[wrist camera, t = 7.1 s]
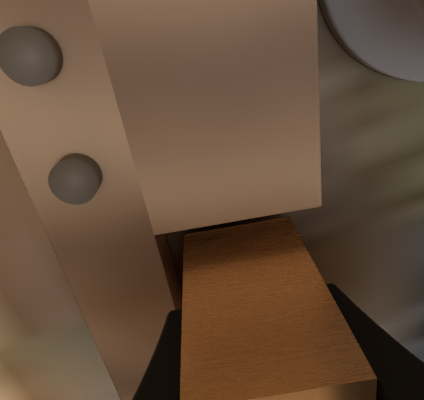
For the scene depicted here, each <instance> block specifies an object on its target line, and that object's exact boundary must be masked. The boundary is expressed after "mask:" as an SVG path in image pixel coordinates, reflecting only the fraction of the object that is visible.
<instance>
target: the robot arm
mask: <svg viewBox="0 0 424 400" xmlns="http://www.w3.org/2000/svg"><path fill="white" fill-rule="evenodd" d="M326 285H327V287H328V289H329V291H330V293H331V295H332V296H333V298H334V300H335V302H336V304H337V306H338V307H339V309H340V311H341V313H342V315H343V317H344V318H345V320H346V322H347V324H348V326H349V328H350V329H351V331H352V333H353V335H354V337H355V339H356V340H357V342H358V344H359V346H360V348H361V350H362V351H363V353H364V355H365V357H366V359H367V361H368V362H369V364H370V366H371V368H372V370H373V372H374V373H375V375H376V377H377V390H376V400H424V363H423V362H422V361H421V360H420V359H418V358H417V357H416V356H414V355H413V354H412V353H411V352H409V351H408V350H407V349H406V348H404V347H403V346H402V345H401V344H400V343H398V342H397V341H396V340H395V339H394V338H392V337H391V336H390V335H389V334H388V333H387V332H385V331H384V330H383V329H382V328H381V327H380V326H378V325H377V324H376V323H375V322H374V321H373V320H372V319H371V318H369V317H368V316H367V315H366V314H365V313H364V312H363V311H362V310H361V309H360V308H359V307H357V306H356V305H355V304H354V303H353V302H352V301H351V300H350V299H349V298H348V297H347V296H346V295H345V294H344V293H343V292H342V291H341V290H340V289H339V288H338V287H337V286H336V285H334V284H333V283H331V284H326ZM181 333H182V309H178V310H172V311H170V312H169V313H168V314H167V318H166V321H165V324H164V327H163V330H162V332H161V335H160V338H159V340H158V343H157V346H156V348H155V351H154V353H153V355H152V358H151V360H150V362H149V365H148V367H147V369H146V371H145V374H144V376H143V378H142V380H141V382H140V385H139V387H138V389H137V391H136V393H135V395H134V397H133V399H132V400H180V373H181Z"/></svg>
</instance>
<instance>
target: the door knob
mask: <svg viewBox="0 0 424 400" xmlns="http://www.w3.org/2000/svg"><path fill="white" fill-rule="evenodd" d="M318 2H319V5H320V8H321V11H322V14H323V17H324V19H325V21H326V23H327V25H328V27H329V29H330V31H331V32H332V34H333V35H334V37H335V38H336V40H337V41H338V42H339V44H340V45H341V46H342V47H343V48H344V49H345V50H346V51H347V52H348V53H349V55H351V56H352V57H353V58H354V59H356V60H357V61H358V62H360V63H361V64H362V65H364V66H366V67H368V68H370V69H372V70H374V71H376V72H379V73H382V74H385V75H388V76H392V77H396V78H400V79H405V80H410V81H416V82H424V0H318Z"/></svg>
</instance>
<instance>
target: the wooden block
mask: <svg viewBox="0 0 424 400" xmlns="http://www.w3.org/2000/svg"><path fill="white" fill-rule="evenodd" d="M376 390H377V377H376V375H375V373H374V372H373V370H372V368H371V366H370V364H369V362H368V361H367V359H366V357H365V355H364V353H363V351H362V350H361V348H360V346H359V344H358V342H357V340H356V339H355V337H354V335H353V333H352V331H351V329H350V328H349V326H348V324H347V322H346V320H345V318H344V317H343V315H342V313H341V311H340V309H339V307H338V306H337V304H336V302H335V300H334V298H333V296H332V295H331V293H330V291H329V289H328V287H327V285H326V284H325V282H324V280H323V278H322V276H321V274H320V273H319V271H318V269H317V267H316V265H315V263H314V262H313V260H312V258H311V256H310V254H309V252H308V251H307V249H306V247H305V245H304V243H303V241H302V240H301V238H300V236H299V234H298V232H297V230H296V229H295V227H294V225H293V223H292V221H291V219H290V218H289V216H288V217H283V218H277V219H271V220H265V221H260V222H254V223H248V224H242V225H236V226H231V227H225V228H219V229H213V230H208V231H202V232H196V233H190V234H184V254H183V294H182V333H181V373H180V400H376Z"/></svg>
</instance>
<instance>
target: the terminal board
mask: <svg viewBox="0 0 424 400" xmlns="http://www.w3.org/2000/svg"><path fill="white" fill-rule="evenodd" d="M0 130H1V132H2V135H3V137H4V139H5V141H6V143H7V146H8V148H9V150H10V152H11V155H12V157H13V159H14V161H15V164H16V166H17V168H18V170H19V173H20V175H21V177H22V179H23V182H24V184H25V186H26V188H27V191H28V193H29V195H30V197H31V200H32V202H33V204H34V206H35V209H36V211H37V213H38V215H39V217H40V220H41V222H42V224H43V226H44V229H45V231H46V233H47V235H48V238H49V240H50V242H51V244H52V247H53V249H54V251H55V253H56V256H57V258H58V260H59V262H60V265H61V267H62V269H63V271H64V274H65V276H66V278H67V280H68V283H69V285H70V287H71V289H72V291H73V294H74V296H75V298H76V300H77V303H78V305H79V307H80V309H81V312H82V314H83V316H84V318H85V321H86V323H87V325H88V327H89V330H90V332H91V334H92V336H93V339H94V341H95V343H96V345H97V348H98V350H99V352H100V354H101V357H102V359H103V361H104V363H105V365H106V368H107V370H108V372H109V374H110V377H111V379H112V381H113V383H114V386H115V388H116V390H117V392H118V395H119V397H120V399H121V400H132V399H133V397H134V395H135V393H136V391H137V389H138V387H139V385H140V382H141V380H142V378H143V376H144V374H145V371H146V369H147V367H148V365H149V362H150V360H151V358H152V355H153V353H154V351H155V348H156V346H157V343H158V340H159V338H160V335H161V332H162V330H163V327H164V324H165V321H166V318H167V314H168V313H169V312H170V311H172V310H178V309H182V293H181V289H180V286H179V282H178V278H177V274H176V271H175V267H174V263H173V259H172V255H171V252H170V248H169V244H168V240H167V236H166V233H170V232H176V231H182V230H187V229H193V228H199V227H205V226H211V225H216V224H222V223H228V222H234V221H239V220H245V219H251V218H257V217H263V216H268V215H274V214H280V213H286V212H291V211H297V210H303V209H309V208H315V207H320V206H322V193H321V152H320V110H319V69H318V27H317V0H0Z"/></svg>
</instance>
